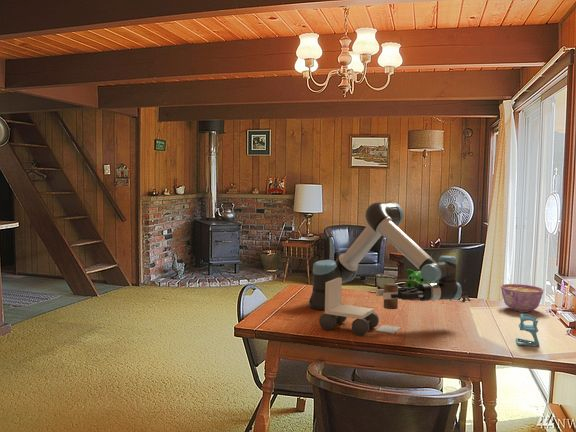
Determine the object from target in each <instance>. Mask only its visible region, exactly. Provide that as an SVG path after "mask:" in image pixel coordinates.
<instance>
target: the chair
mask: <svg viewBox="0 0 576 432" xmlns="http://www.w3.org/2000/svg"><path fill="white" fill-rule="evenodd" d="M519 319H520V323H518V328H519V330H520V331H525V332H529V334H531V336H532V338H533V340H531V339H530V340H529V339H524V338H519V337H515V342H517V343H516V345H517V344H518V345H540V342H539V339H538V336H537V333H538V332H539V328H538V326H537V325H538V323H539V320H537V319H538V318H537V317H535V316H533V315H531V314H528V313H521V314H519ZM526 321H530V322H532V324H525V323H524V322H526ZM518 340H521V341H518ZM522 341H526V342H522ZM527 342H531V343H527Z"/></svg>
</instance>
